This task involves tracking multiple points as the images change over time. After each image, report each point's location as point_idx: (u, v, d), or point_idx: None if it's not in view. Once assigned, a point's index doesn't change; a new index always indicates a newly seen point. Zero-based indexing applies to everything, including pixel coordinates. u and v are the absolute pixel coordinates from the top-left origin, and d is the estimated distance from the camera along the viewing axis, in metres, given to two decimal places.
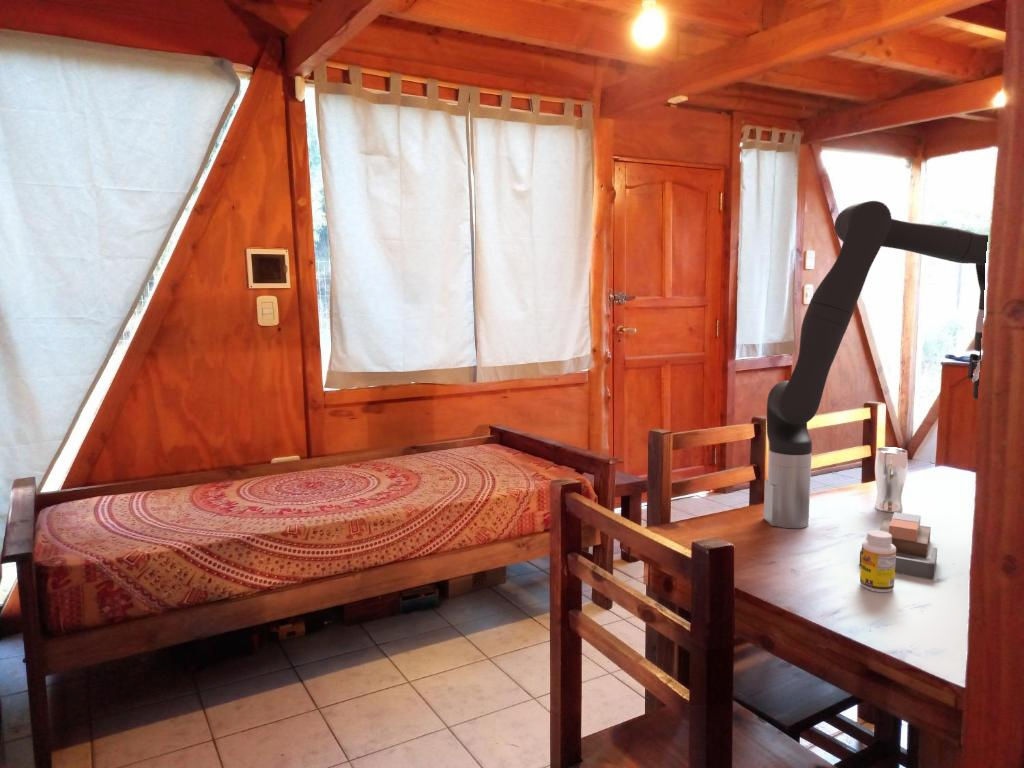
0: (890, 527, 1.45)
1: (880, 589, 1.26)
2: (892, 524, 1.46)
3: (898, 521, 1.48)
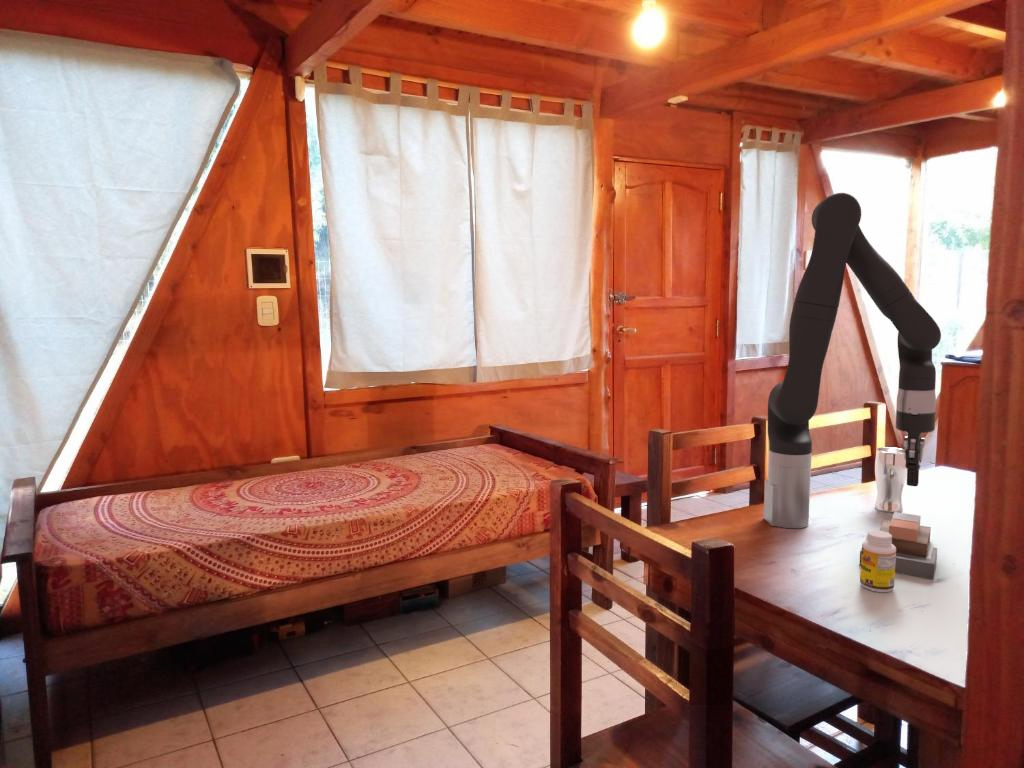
0: (890, 527, 1.45)
1: (880, 589, 1.26)
2: (892, 524, 1.46)
3: (898, 521, 1.48)
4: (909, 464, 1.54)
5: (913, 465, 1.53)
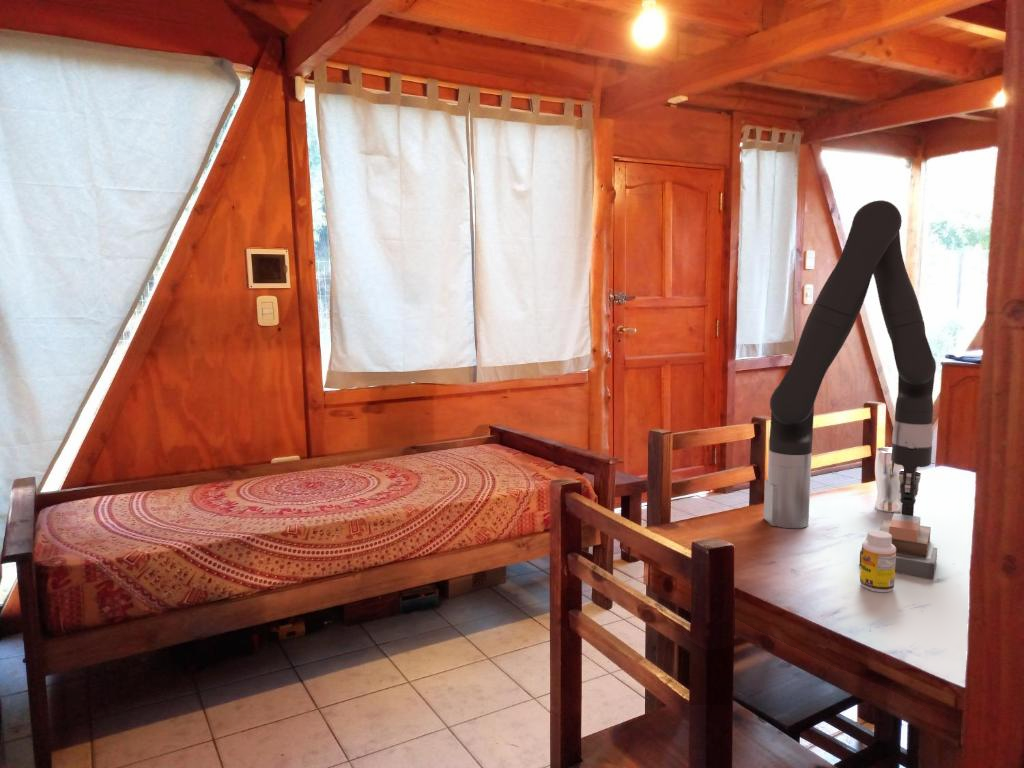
0: (890, 528, 1.45)
1: (880, 589, 1.26)
2: (892, 525, 1.45)
3: (898, 522, 1.47)
4: (904, 499, 1.50)
5: (908, 500, 1.50)
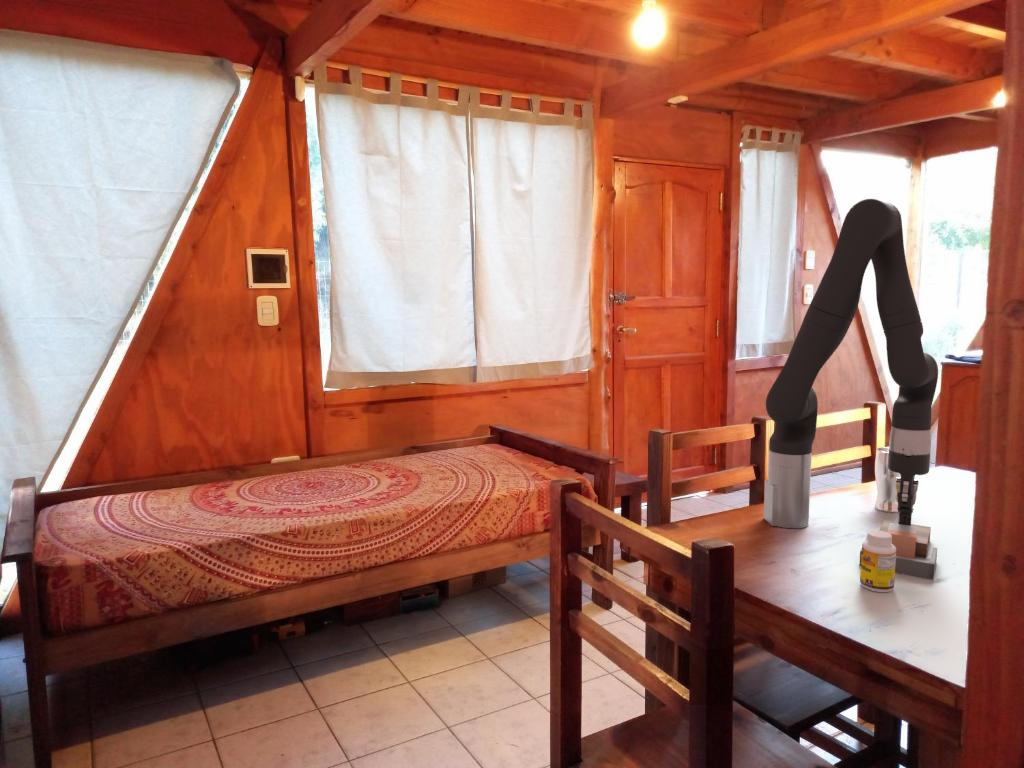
0: None
1: (880, 589, 1.26)
2: None
3: (894, 539, 1.40)
4: (901, 508, 1.44)
5: (906, 509, 1.43)
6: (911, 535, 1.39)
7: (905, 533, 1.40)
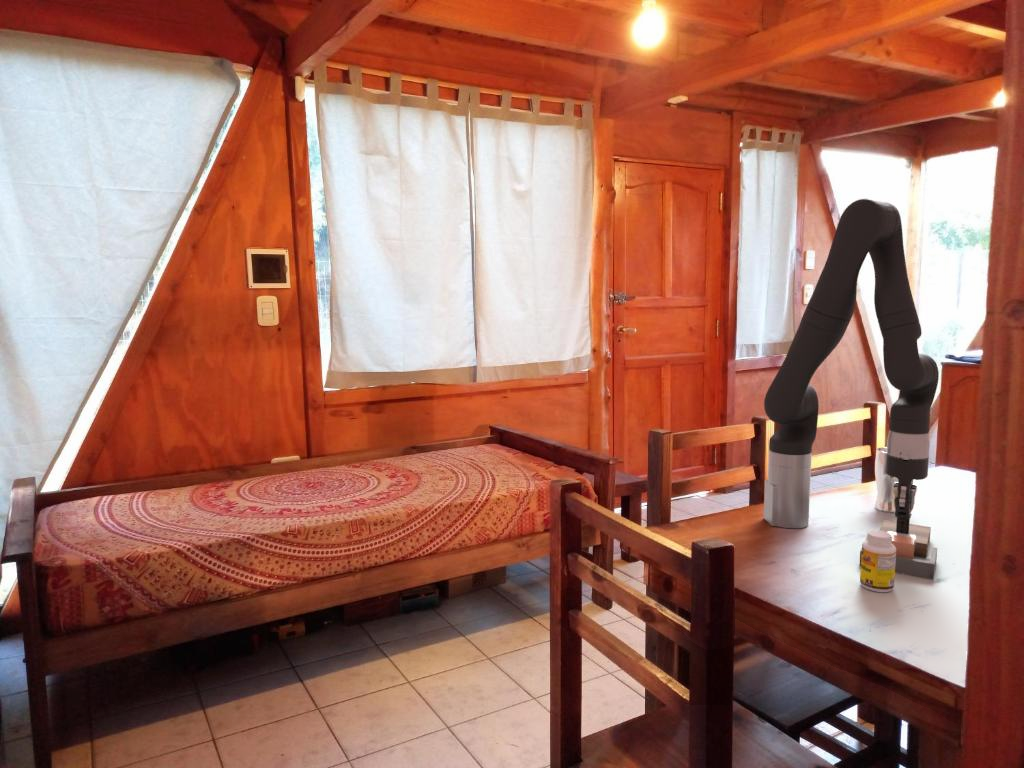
0: None
1: (880, 589, 1.26)
2: None
3: None
4: (899, 513, 1.41)
5: (903, 514, 1.40)
6: (909, 541, 1.36)
7: (903, 538, 1.37)
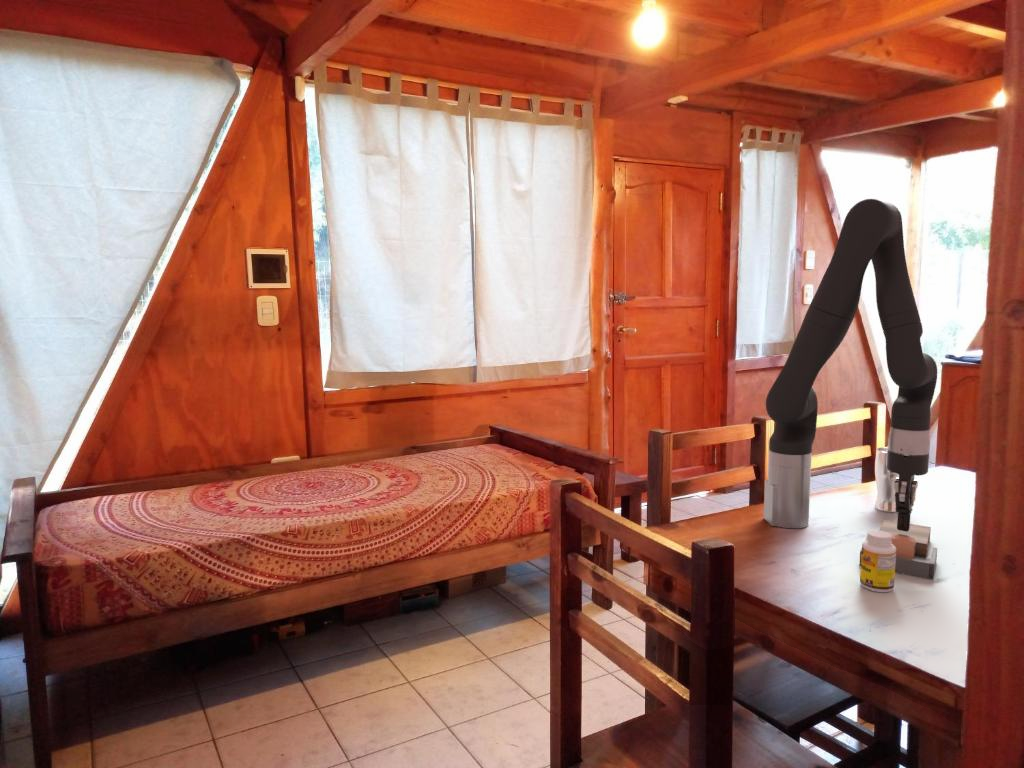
0: None
1: (880, 589, 1.26)
2: None
3: None
4: (899, 508, 1.44)
5: (904, 509, 1.44)
6: (910, 540, 1.36)
7: (904, 538, 1.37)
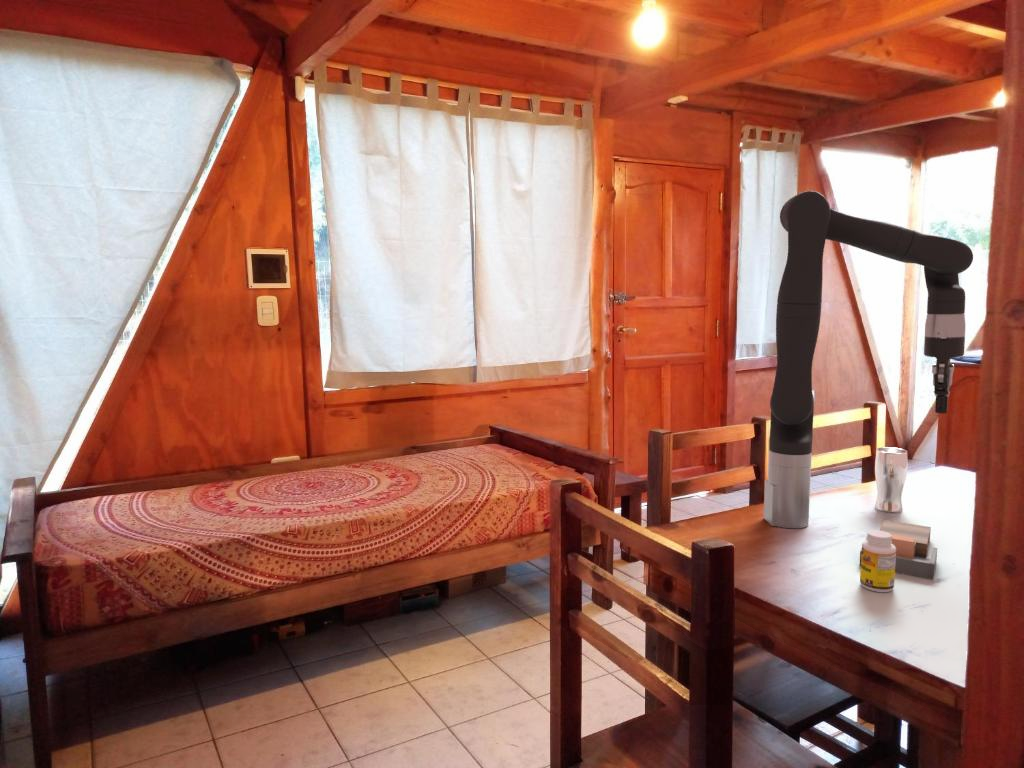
0: None
1: (880, 589, 1.26)
2: None
3: None
4: (938, 390, 1.52)
5: (942, 391, 1.52)
6: (910, 540, 1.36)
7: (904, 538, 1.37)
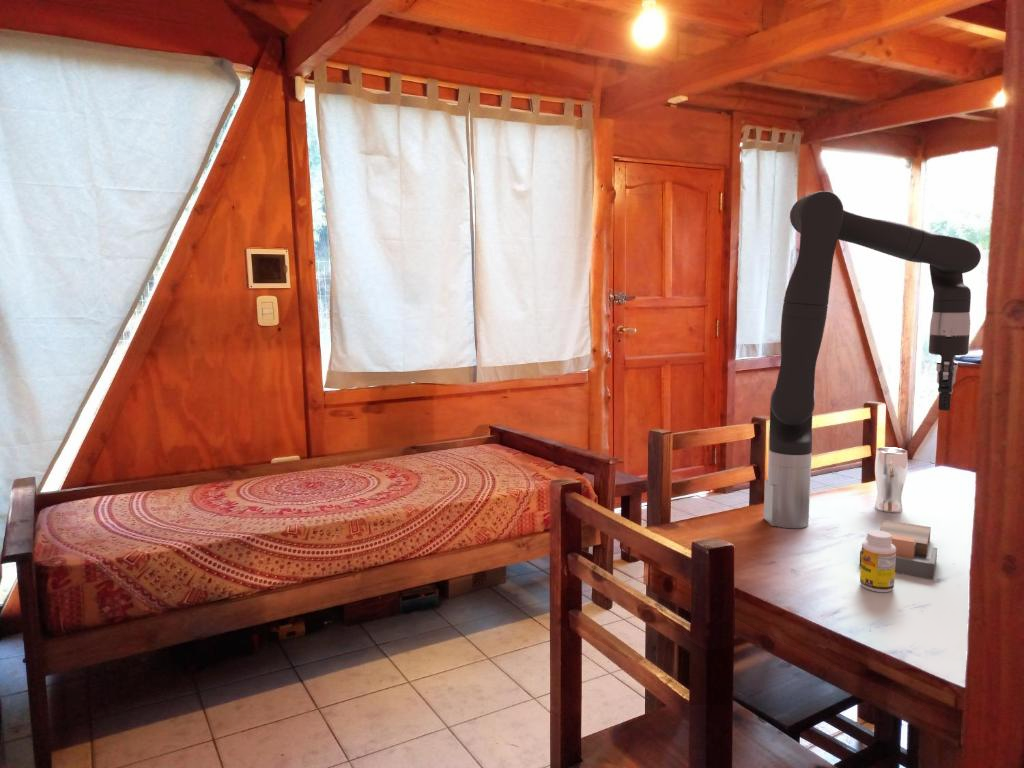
0: None
1: (880, 589, 1.26)
2: None
3: None
4: (942, 387, 1.54)
5: (946, 388, 1.54)
6: (910, 540, 1.36)
7: (904, 538, 1.37)
